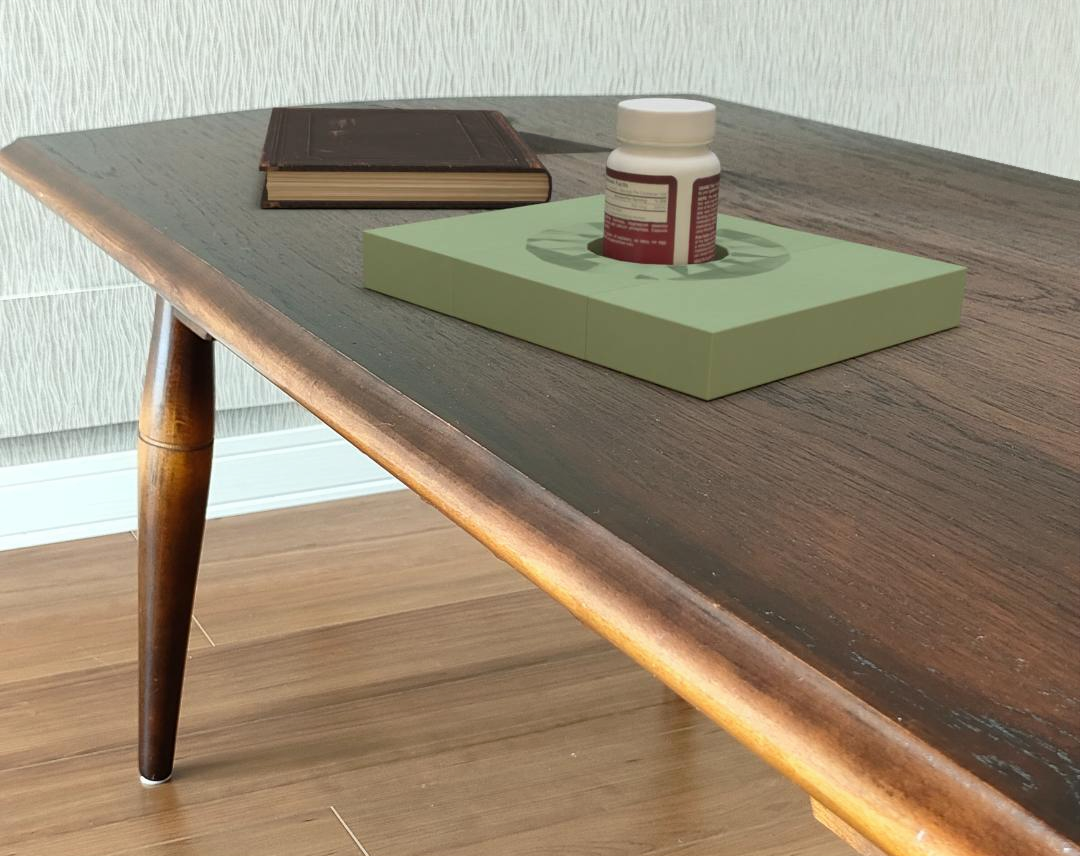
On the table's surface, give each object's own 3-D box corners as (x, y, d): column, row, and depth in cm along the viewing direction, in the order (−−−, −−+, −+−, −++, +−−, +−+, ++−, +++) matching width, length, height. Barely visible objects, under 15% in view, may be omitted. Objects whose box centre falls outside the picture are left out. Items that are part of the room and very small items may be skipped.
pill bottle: (680, 289, 65) (694, 95, 61) (730, 316, 61) (747, 110, 57) (582, 296, 63) (590, 97, 60) (626, 324, 59) (637, 113, 56)
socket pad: (959, 326, 60) (968, 267, 59) (707, 401, 50) (712, 331, 49) (617, 241, 74) (619, 191, 73) (363, 287, 64) (362, 230, 63)
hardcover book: (260, 208, 79) (258, 164, 78) (274, 142, 99) (272, 107, 99) (551, 208, 81) (553, 166, 80) (505, 144, 102) (505, 110, 101)
